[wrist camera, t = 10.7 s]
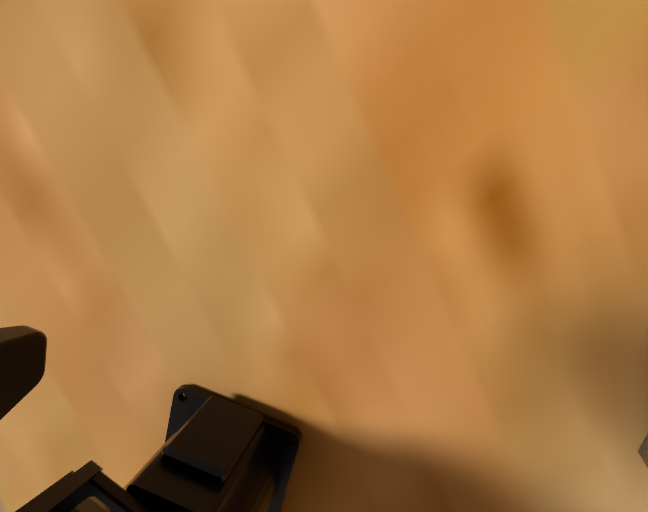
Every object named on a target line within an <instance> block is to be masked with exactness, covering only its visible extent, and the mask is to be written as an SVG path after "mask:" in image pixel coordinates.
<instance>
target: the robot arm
mask: <svg viewBox="0 0 648 512" xmlns="http://www.w3.org/2000/svg"><path fill="white" fill-rule="evenodd" d="M46 348H47V338H46V335H45V334H44V333H43V332H41V331H39V330H36V329H34V328H31V327H28V326H13V327H5V328H0V420H1V419H2V418H3V417H4V416H5V415H6V414H7V413H8V412H9V411H10V410H11V409H12V408H13V407H14V406H15V405H16V404H17V403H18V402H20V401H21V400H22V399H23V398H24V397H25V396H26V395H27V394H28V393H29V392H30V391H31V390H32V389H33V388H34V387H35V386H36V385H37V384H38V383H39V382H40V380H41V379H42V377H43V375H44V371H45V361H46ZM183 393H184V394H185V395H186V396H187V397H188V398H186V397H184V395H183ZM287 436H290V437H292V438H293V440H294V441H292V440H289V439H288V438H287ZM301 440H302V435H301V433H300V431H299V430H298V429H296V428H295V427H292V426H290V425H287V424H285V423H282V422H280V421H277V420H275V419H272V418H270V417H267V416H265V415H262V414H260V413H257V412H255V411H252V410H250V409H247V408H245V407H242V406H240V405H237V404H235V403H232V402H230V401H227V400H225V399H222V398H220V397H217V396H215V395H212V394H210V393H207V392H205V391H202V390H200V389H197V388H195V387H192V386H190V385H186V384H185V385H181V386H180V387H179V388H178V389H177V390H176V391H175V393H174V396H173V401H172V407H171V412H170V418H169V423H168V429H167V434H166V440H165V444H164V445H163V446H162V447H161V448H160V449H159V450H158V451H157V452H156V454H155V455H154V456H153V457H152V458H151V459H150V460H149V461H148V462H147V463H146V465H145V466H144V467H143V468H142V469H141V470H140V471H139V472H138V473H137V474H136V475H135V477H134V478H133V479H132V480H131V481H130V482H129V483H128V484H127V485H126V486H125V487H124V489H123V488H122V487H121V486H119V485H118V484H117V483H116V482H114V481H113V480H112V479H111V478H109V477H108V476H107V475H105V474H104V473H103V472H102V470H103V469H102V468H101V467H100V466H99V465H97V464H96V463H95V462H93V461H92V460H91V461H90V462H88V463H87V464H86V465H84V466H83V467H81V468H80V469H79V470H77V471H76V472H73V471H71V472H70V473H68V474H67V475H66V476H64V477H63V478H61V479H60V480H59V481H57V482H56V483H54V484H53V485H52V486H50V487H49V488H47V489H46V490H45V491H43V492H42V493H41V494H39V495H38V496H36V497H35V498H34V499H32V500H31V501H29V502H28V503H27V504H25V505H24V506H22V507H21V508H20V509H18V510H17V511H15V512H281V509H282V506H283V502H284V499H285V495H286V492H287V488H288V485H289V481H290V478H291V475H292V471H293V468H294V464H295V461H296V457H297V454H298V451H299V447H300V444H301Z"/></svg>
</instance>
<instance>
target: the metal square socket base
mask: <svg viewBox="0 0 648 512" xmlns="http://www.w3.org/2000/svg"><path fill="white" fill-rule="evenodd" d="M638 452H639V454H640V456H641V457H642V459H643V461H644V462H645V464H646V466H647V468H648V435H647V437H646V438H645V440H644V442H643V444H642V445H641V447H640V449H639V451H638Z"/></svg>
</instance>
